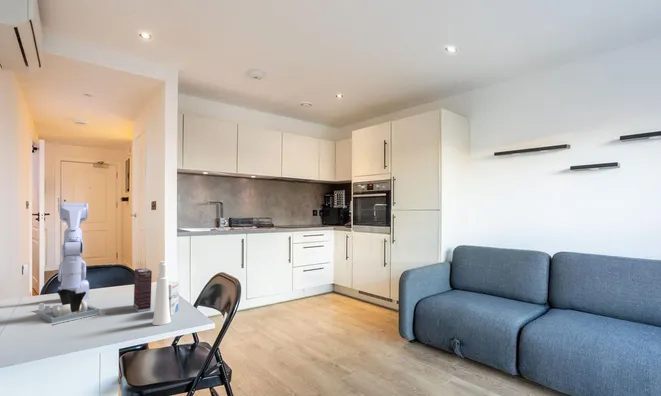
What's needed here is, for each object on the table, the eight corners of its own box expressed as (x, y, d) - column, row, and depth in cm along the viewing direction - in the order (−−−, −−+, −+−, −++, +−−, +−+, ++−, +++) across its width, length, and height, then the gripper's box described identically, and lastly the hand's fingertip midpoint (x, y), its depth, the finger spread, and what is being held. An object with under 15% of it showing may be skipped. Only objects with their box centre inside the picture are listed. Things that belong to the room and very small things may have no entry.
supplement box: (151, 310, 140) (152, 270, 141) (138, 312, 137) (138, 272, 138) (146, 305, 147) (146, 267, 147) (133, 307, 144) (134, 269, 144)
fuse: (83, 313, 136) (81, 301, 137) (88, 311, 134) (86, 299, 135) (51, 319, 128) (50, 307, 129) (56, 317, 125) (55, 304, 126)
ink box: (166, 310, 141) (166, 280, 141) (178, 309, 141) (179, 280, 141) (157, 316, 132) (158, 285, 132) (170, 316, 132) (171, 285, 133)
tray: (86, 310, 140) (87, 304, 140) (99, 314, 134) (99, 309, 134) (40, 319, 128) (40, 313, 128) (51, 325, 121) (51, 318, 121)
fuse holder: (71, 305, 146) (71, 297, 146) (81, 309, 141) (81, 300, 141) (32, 313, 135) (32, 303, 135) (41, 317, 130) (41, 308, 130)
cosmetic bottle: (168, 324, 123) (169, 262, 123) (149, 325, 121) (151, 262, 122) (172, 319, 128) (173, 259, 129) (155, 320, 127) (156, 260, 128)
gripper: (51, 273, 132) (50, 309, 132) (67, 277, 124) (65, 315, 123) (73, 270, 138) (72, 305, 137) (89, 274, 130) (88, 311, 129)
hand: (70, 309), depth 131 cm, fingers open, 7 cm apart
